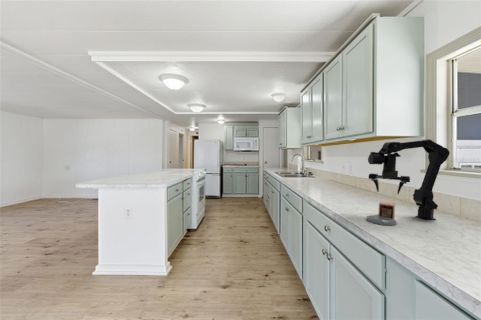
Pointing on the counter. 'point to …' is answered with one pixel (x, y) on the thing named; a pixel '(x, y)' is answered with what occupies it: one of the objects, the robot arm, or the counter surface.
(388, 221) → the slate dish
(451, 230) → the counter surface
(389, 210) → the walnut block
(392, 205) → the terracotta hood
